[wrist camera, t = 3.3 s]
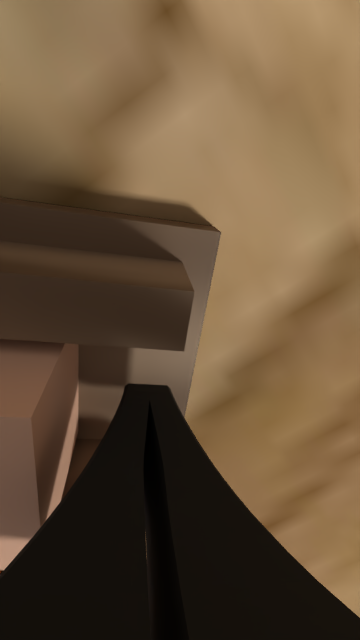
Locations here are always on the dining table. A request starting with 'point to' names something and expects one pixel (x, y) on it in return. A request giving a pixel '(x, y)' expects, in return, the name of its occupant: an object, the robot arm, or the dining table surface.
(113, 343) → the taupe railed channel
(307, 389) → the dining table surface
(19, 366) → the terracotta block
